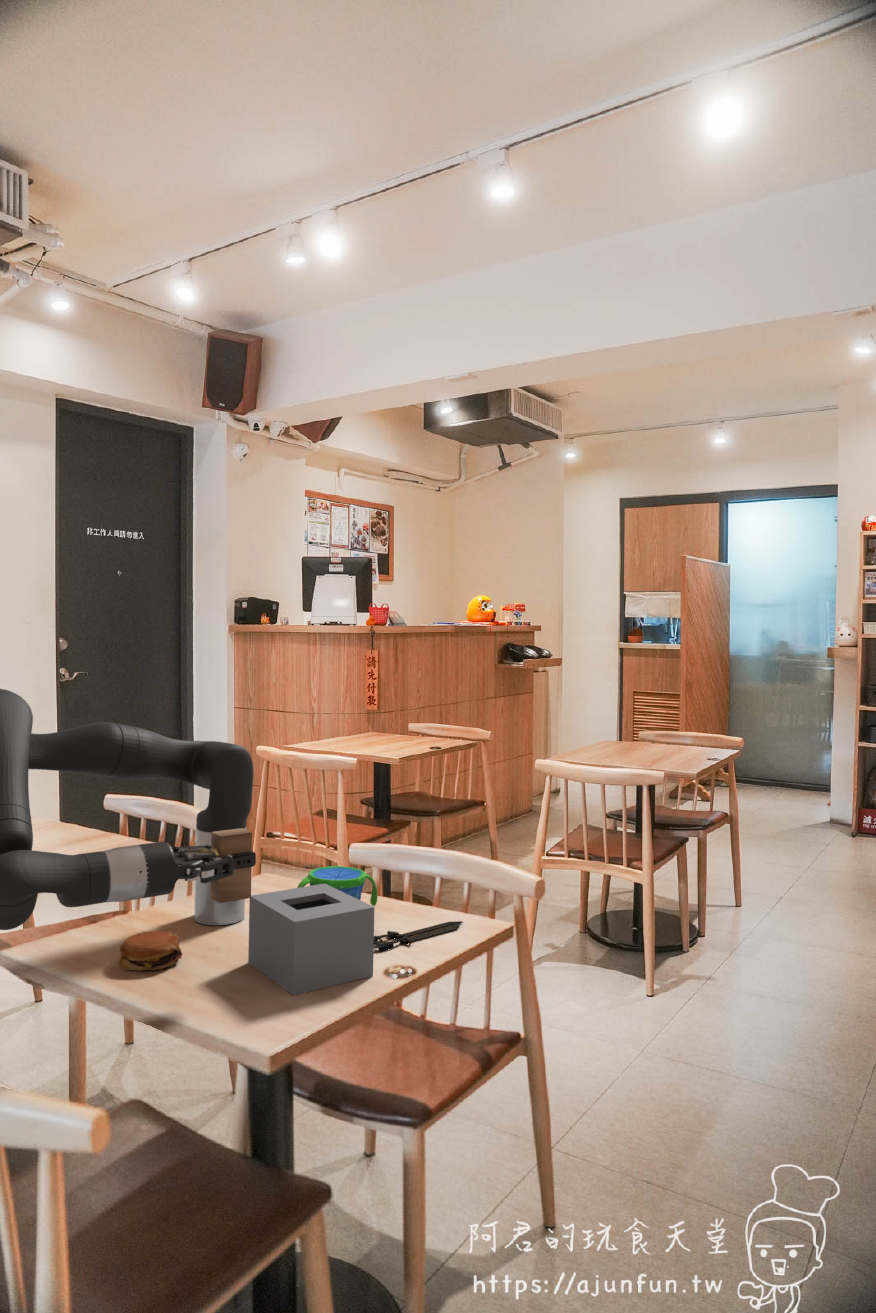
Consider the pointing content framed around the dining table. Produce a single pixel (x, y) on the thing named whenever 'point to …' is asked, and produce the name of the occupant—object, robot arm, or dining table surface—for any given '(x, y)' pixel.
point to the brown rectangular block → (241, 878)
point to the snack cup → (341, 880)
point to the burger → (150, 951)
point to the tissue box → (311, 937)
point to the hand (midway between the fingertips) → (248, 855)
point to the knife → (413, 935)
